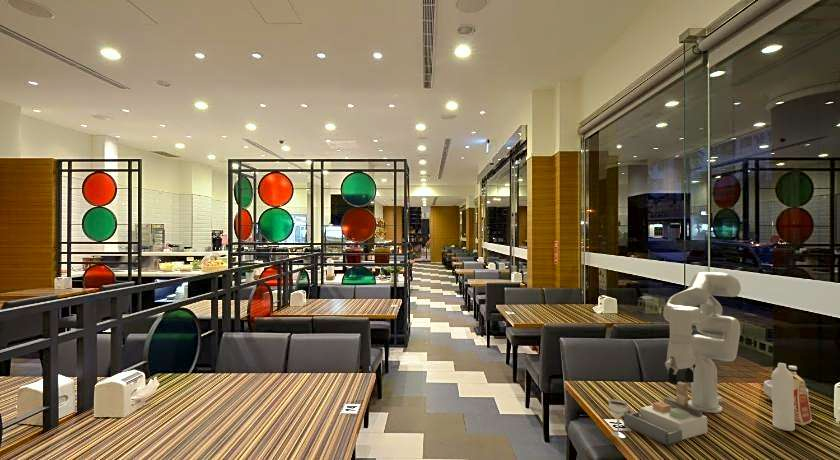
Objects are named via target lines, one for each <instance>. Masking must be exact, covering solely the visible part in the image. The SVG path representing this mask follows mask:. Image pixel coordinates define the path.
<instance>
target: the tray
mask: <svg viewBox="0 0 840 460" xmlns="http://www.w3.org/2000/svg"><path fill="white" fill-rule="evenodd" d="M624 425H625V427H626V428H628V429H631V430H633V431H635V432H637V433H639V434H641V435H643V436H646V437H648V438H650V439H652V440H654V441H656V442H658V443H660V444H662V445H664V446H667V447H668V446H672V445H676V444H679V443H682V442H683V440H682V430H678V431H674V432H670V433H668V431H666V430H664V429H662V428H659V427H657V426H655V425H653V424H650V423H648V422H646V421H644V420H641V418H640V412H639V411H637V412H631V413H627V414H626V415H625V416H623V426H624Z"/></svg>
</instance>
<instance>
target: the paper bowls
mask: <svg viewBox="0 0 840 460" xmlns="http://www.w3.org/2000/svg"><path fill="white" fill-rule="evenodd" d="M806 390H807V394H808V399H809V397H810V396H809V389H808V388H807V387H806ZM763 392H764V395H765V394H766V395H767V396H768V397H769V398H770V400H771V401H772V399H773V398H772V379H770V380H765V381H764V382H763Z"/></svg>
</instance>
